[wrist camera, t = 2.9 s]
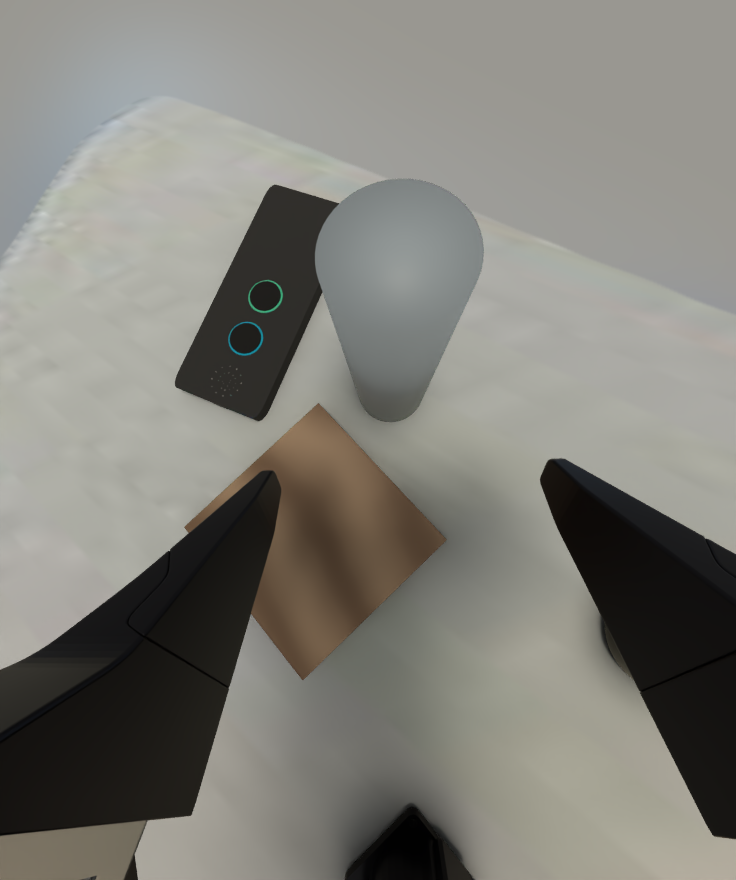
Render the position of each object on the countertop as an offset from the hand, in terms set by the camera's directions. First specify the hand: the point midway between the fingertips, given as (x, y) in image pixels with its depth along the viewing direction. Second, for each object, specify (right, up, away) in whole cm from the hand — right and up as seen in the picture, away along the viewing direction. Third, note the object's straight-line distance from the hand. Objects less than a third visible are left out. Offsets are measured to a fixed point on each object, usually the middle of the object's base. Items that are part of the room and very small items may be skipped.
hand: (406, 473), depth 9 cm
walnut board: (-5, -6, +12) cm, 15 cm away
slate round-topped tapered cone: (+1, +5, +13) cm, 14 cm away
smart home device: (-10, +13, +16) cm, 23 cm away
